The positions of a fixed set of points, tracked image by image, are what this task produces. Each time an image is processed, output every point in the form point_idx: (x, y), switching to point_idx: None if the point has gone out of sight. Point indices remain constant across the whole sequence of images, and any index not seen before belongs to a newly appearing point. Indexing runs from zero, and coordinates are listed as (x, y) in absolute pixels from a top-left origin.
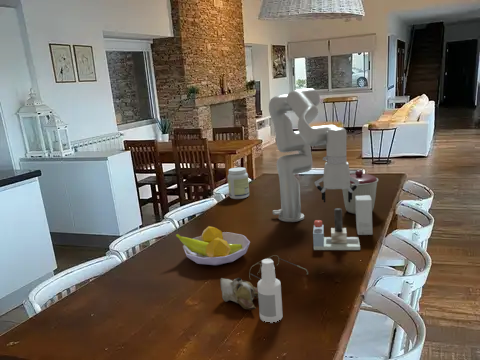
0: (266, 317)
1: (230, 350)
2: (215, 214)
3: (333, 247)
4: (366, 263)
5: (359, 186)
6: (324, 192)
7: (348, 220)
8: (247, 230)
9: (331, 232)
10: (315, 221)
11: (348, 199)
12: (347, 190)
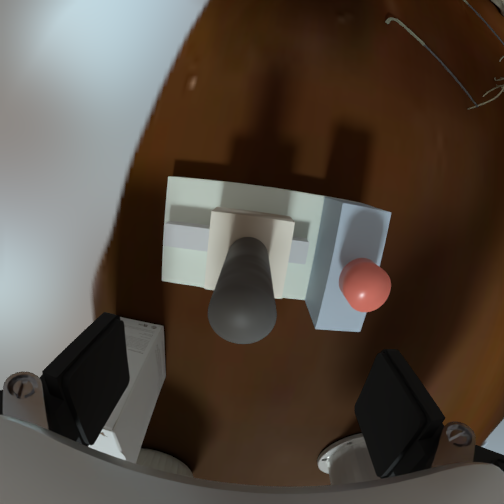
0: None
1: None
2: (478, 438)
3: (282, 189)
4: (178, 58)
5: None
6: (422, 439)
7: (189, 431)
8: (477, 373)
9: (291, 234)
10: (383, 291)
11: (108, 332)
12: None
